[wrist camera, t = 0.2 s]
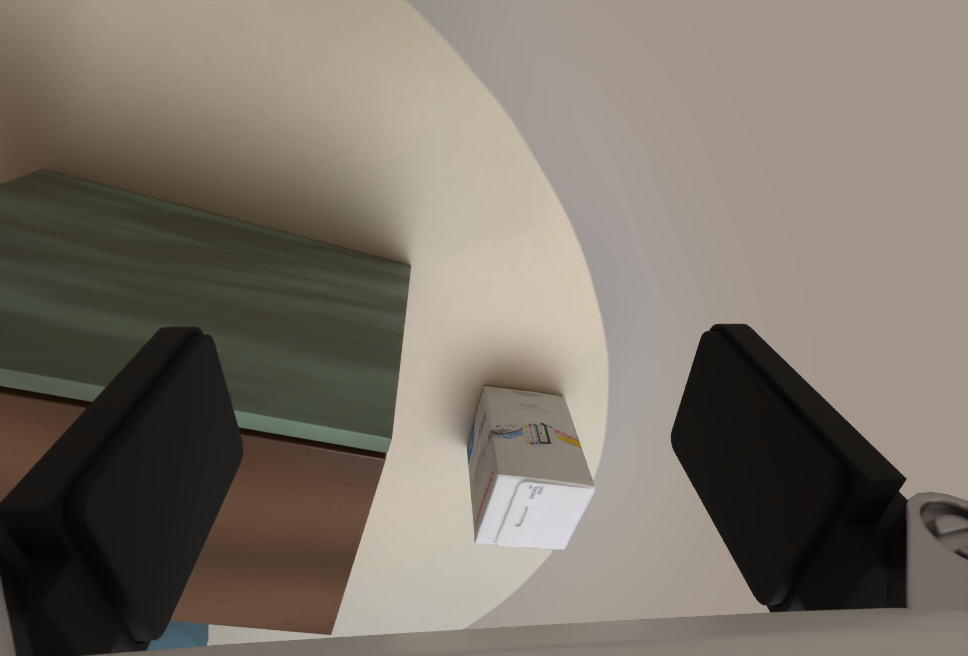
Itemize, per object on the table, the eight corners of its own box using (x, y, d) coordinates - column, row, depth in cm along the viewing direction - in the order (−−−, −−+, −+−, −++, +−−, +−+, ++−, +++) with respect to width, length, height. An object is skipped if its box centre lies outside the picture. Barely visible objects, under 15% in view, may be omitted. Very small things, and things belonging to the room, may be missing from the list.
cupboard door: (30, 64, 32) (-445, 111, 15) (433, 185, 38) (428, 320, 21) (43, 182, 36) (-325, 330, 18) (408, 276, 41) (387, 453, 24)
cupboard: (45, 185, 36) (-328, 337, 18) (407, 278, 42) (386, 459, 24) (64, 362, 43) (-187, 589, 26) (368, 419, 49) (331, 635, 32)
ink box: (542, 456, 54) (566, 555, 44) (465, 448, 52) (472, 548, 42) (566, 394, 50) (599, 487, 40) (483, 383, 48) (495, 477, 38)
